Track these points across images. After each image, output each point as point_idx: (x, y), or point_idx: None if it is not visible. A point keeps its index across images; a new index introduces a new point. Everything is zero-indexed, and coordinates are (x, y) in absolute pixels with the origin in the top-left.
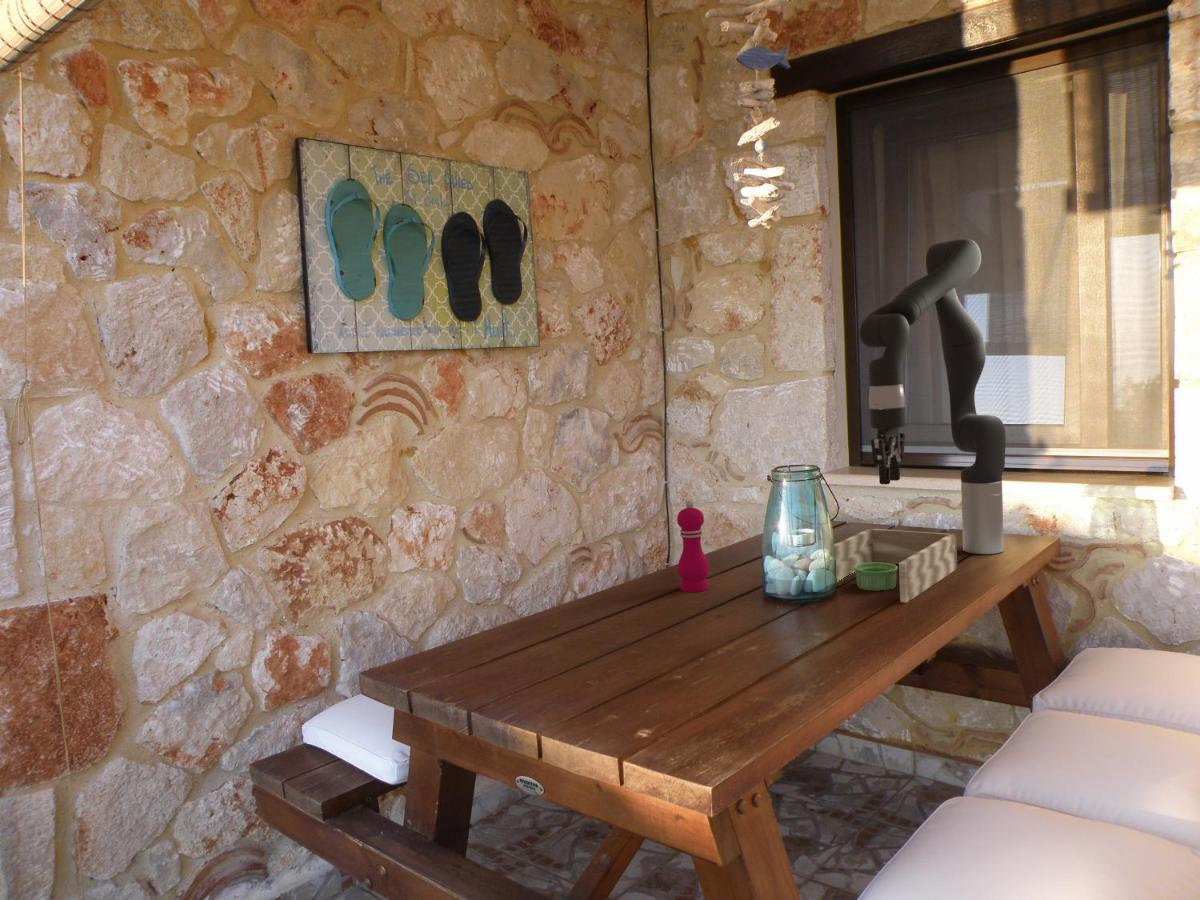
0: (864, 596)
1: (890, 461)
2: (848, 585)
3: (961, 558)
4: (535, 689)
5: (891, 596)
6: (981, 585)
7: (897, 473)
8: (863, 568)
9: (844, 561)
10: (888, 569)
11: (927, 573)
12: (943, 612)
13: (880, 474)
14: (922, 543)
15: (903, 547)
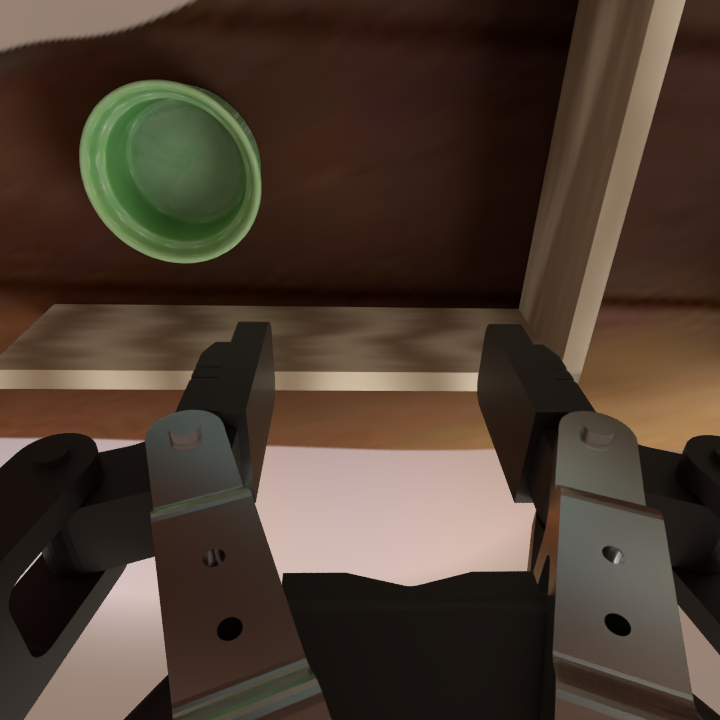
0: (40, 176)
1: (552, 449)
2: (142, 47)
3: (694, 295)
4: None
5: (98, 257)
6: (348, 427)
7: (490, 425)
8: (194, 104)
9: None
10: (243, 204)
11: None
12: (42, 421)
13: (191, 390)
14: (567, 249)
15: (579, 154)
